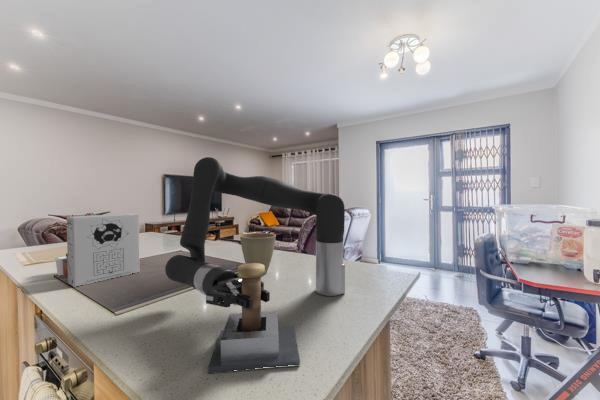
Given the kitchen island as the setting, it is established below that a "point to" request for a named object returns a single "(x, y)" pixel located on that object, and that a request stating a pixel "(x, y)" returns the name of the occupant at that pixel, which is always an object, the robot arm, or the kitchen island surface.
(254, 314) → the walnut pin
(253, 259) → the plant pot
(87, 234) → the cereal box
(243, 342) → the steel receiver
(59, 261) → the shot glass
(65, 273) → the lighter
